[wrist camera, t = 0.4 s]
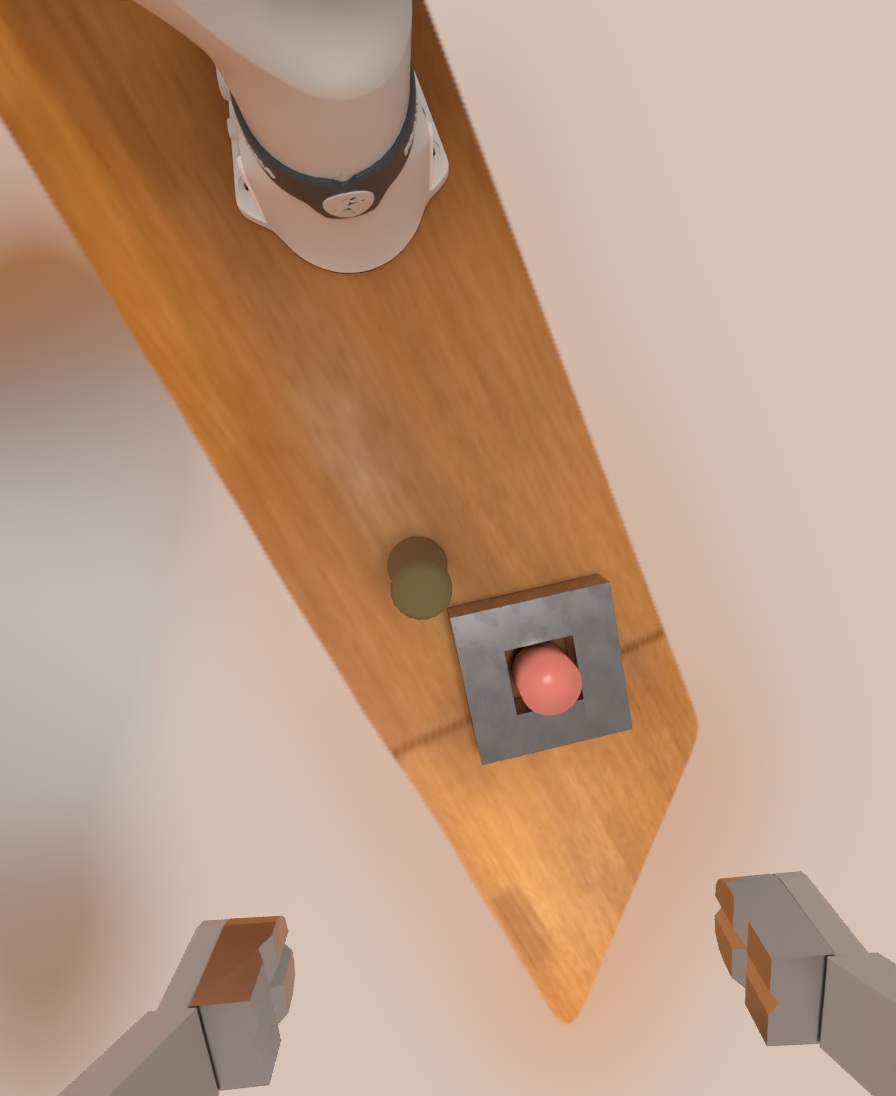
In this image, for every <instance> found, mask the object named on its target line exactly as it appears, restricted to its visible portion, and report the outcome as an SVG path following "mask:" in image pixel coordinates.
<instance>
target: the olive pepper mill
mask: <svg viewBox="0 0 896 1096" xmlns="http://www.w3.org/2000/svg"><path fill="white" fill-rule="evenodd" d="M388 572H389V575H390V578H391V580H392V582H391V596H392V599H393V602H394V604H395V606H396V607H397V608H398V609H399V611H400V612H402V613H403V614H405V615H406V616H408V617H410V618H414V619H417V620H422V619H429V618H432V617H435V616H437V615H438V614H440V613H441V612H442V611H443V610H444V609H445V608H446V606H447V605H448V604H449V602H450V599H451V596H452V582H451V579H450V576H449V574H448V572H447V559H446V556H445V552H444V551H443V550H442V548H441V547H440V546H439V545H438V544H437V543H436V542H434V541H433V540H431V539H428V538H425V537H411V538H408V539H405V540H403V541H402V542H400V543H399V544H397V545H396V546H395V548H394V549H393V551H392V552H391V554H390V557H389V560H388Z"/></svg>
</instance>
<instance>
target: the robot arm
mask: <svg viewBox="0 0 896 1096" xmlns="http://www.w3.org/2000/svg"><path fill="white" fill-rule="evenodd" d="M132 1H134V2H136V3H137V4H139V5H140V6H142V7H144V8H145V9H147V10H148V11H150V12H151V13H153V14H155V15H156V16H158V17H159V18H161V19H162V20H163V21H165V22H166V23H168V24H169V25H171V26H172V27H174V28H175V29H176V30H178V31H179V32H180V33H182V34H183V35H184V36H186V37H187V38H188V39H190V40H191V41H192V42H194V43H195V44H196V45H197V46H199V47H200V48H201V49H202V50H203V51H204V52H205V53H206V54H207V55H208V56H209V57H210V58H211V59H212V61H213V62H214V64H215V66H216V72H217V79H218V84H219V88H220V91H221V95H222V97H223V99H225V100H227V101H229V113H230V118H228V119H227V126H228V132H229V135H230V138H231V141H232V155H233V168H234V182H235V196H236V203H237V205H238V208H239V210H240V212H241V213H242V214H243V216H245V217H246V218H247V219H249V220H251V221H252V222H254V223H256V224H259V225H261V226H263V227H265V228H268V229H270V230H272V231H273V232H274V233H276V234H277V235H278V236H279V237H280V238H281V239H282V240H283V241H284V242H285V243H286V244H287V245H288V246H289V247H290V248H291V249H292V250H293V251H294V252H295V253H296V254H298V255H299V256H300V257H302V258H303V259H305V260H306V261H308V262H310V263H311V264H313V265H316V266H318V267H320V268H323V269H326V270H330V271H334V272H341V273H356V272H363V271H367V270H371V269H374V268H376V267H379V266H381V265H383V264H385V263H387V262H388V261H390V260H391V259H393V258H394V257H395V256H396V255H398V254H399V253H400V252H401V251H402V250H403V249H404V248H405V246H406V245H407V244H408V243H409V241H410V240H411V239H412V237H413V235H414V234H415V232H416V230H417V228H418V226H419V223H420V220H421V218H422V215H423V212H424V209H425V207H426V205H427V203H428V201H429V199H430V198H431V197H432V196H433V195H434V194H435V193H436V192H437V191H438V190H439V189H440V188H441V186H442V185H443V184H444V183H445V181H446V179H447V177H448V174H449V163H448V159H447V156H446V153H445V151H444V148H443V145H442V143H441V140H440V137H439V135H438V132H437V129H436V127H435V124H434V121H433V119H432V116H431V113H430V111H429V108H428V105H427V103H426V100H425V97H424V95H423V92H422V89H421V87H420V84H419V81H418V78H417V76H416V73H415V70H414V68H413V64H412V61H411V30H412V0H132ZM433 153H434V154H435V155H434V157H433ZM246 187H248V189H249V191H247V190H246ZM715 896H716V898H717V900H718V902H719V903H720V905H721V909H720V910H719V911H718V912H717V914H716V915H715V933H716V937H717V942H718V947H719V950H720V953H721V955H722V958H723V961H724V963H725V965H726V967H727V969H728V971H729V973H730V975H731V977H732V978H733V979H735V980H736V981H737V982H738V983H739V984H741V985H742V986H743V987H744V988H745V1005H746V1007H747V1008H748V1011H749V1012H750V1014H751V1016H752V1018H753V1020H754V1022H755V1024H756V1026H757V1028H758V1030H759V1032H760V1034H761V1035H762V1038H763V1039H764V1041H765V1043H766V1045H767V1046H779V1045H802V1044H820V1048H821V1049H823V1050H824V1051H825V1052H826V1053H827V1054H828V1055H829V1056H830V1057H831V1058H832V1059H833V1060H834V1061H836V1062H837V1063H838V1064H839V1065H840V1066H841V1067H842V1068H843V1069H844V1070H845V1071H846V1072H848V1073H849V1074H850V1075H851V1076H852V1077H853V1078H854V1079H855V1080H856V1081H857V1082H858V1083H860V1084H861V1085H862V1086H863V1087H864V1088H865V1089H866V1090H867V1091H868V1092H870V1094H871V1095H873V1096H896V964H895V963H893V962H892V961H890V960H889V959H887V958H885V957H884V956H882V955H881V954H879V953H868V952H867V950H866V949H865V948H864V947H863V945H862V944H861V943H860V942H859V940H858V939H857V938H856V937H855V936H854V934H853V933H852V932H851V930H850V929H849V928H848V927H847V925H846V924H845V923H844V922H843V920H842V919H841V918H840V917H839V915H838V914H837V913H836V912H835V910H834V909H833V908H832V907H831V905H830V904H829V903H828V902H827V900H826V899H825V898H824V896H823V895H822V894H821V893H820V891H819V890H818V889H817V888H816V886H815V885H814V884H813V883H812V882H811V880H810V879H809V878H808V876H806V875H805V874H803V873H802V872H801V871H799V872H788V873H776V874H772V875H771V874H764V875H754V876H744V877H733V878H722V879H718V881H717V883H716V893H715ZM287 934H288V929H287V924H286V920H285V918H284V917H282V916H271V917H253V918H234V919H225V920H208V921H203V922H202V923H201V924H200V925H199V926H198V928H197V929H196V931H195V933H194V935H193V937H192V939H191V941H190V943H189V945H188V947H187V949H186V951H185V953H184V955H183V958H182V959H181V962H180V964H179V966H178V968H177V970H176V972H175V974H174V976H173V978H172V980H171V982H170V984H169V986H168V988H167V990H166V992H165V994H164V996H163V998H162V1001H161V1003H160V1005H159V1007H158V1009H157V1011H148V1012H147V1013H146V1014H145V1015H144V1016H143V1017H142V1018H141V1019H140V1020H139V1021H138V1022H137V1023H135V1024H134V1025H133V1026H132V1027H131V1028H130V1029H129V1030H128V1031H127V1032H126V1033H125V1034H124V1035H122V1036H121V1037H120V1038H119V1039H118V1040H117V1041H116V1042H115V1043H114V1044H113V1045H112V1046H111V1047H110V1048H109V1049H107V1051H105V1052H104V1053H103V1054H102V1055H101V1056H100V1057H99V1058H98V1059H97V1060H96V1061H94V1062H93V1063H92V1064H91V1065H90V1066H89V1067H88V1068H87V1069H86V1070H85V1071H84V1072H83V1073H82V1074H80V1075H79V1076H78V1077H77V1078H76V1079H75V1080H74V1081H73V1082H72V1083H71V1084H70V1085H69V1086H68V1087H66V1088H65V1089H64V1090H63V1091H62V1092H61V1093H60V1094H59V1095H58V1096H218V1095H219V1092H218V1091H220V1090H229V1089H238V1088H247V1087H256V1086H265V1085H269V1084H270V1080H271V1076H272V1073H273V1068H274V1065H275V1061H276V1058H277V1054H278V1050H279V1046H280V1042H281V1038H280V1034H279V1029H278V1024H279V1023H280V1022H281V1021H282V1019H283V1018H284V1017H285V1016H286V1015H287V1014H288V1012H289V1008H290V1003H291V999H292V995H293V987H294V977H295V970H294V958H293V952H292V950H291V949H290V948H289V947H288V946H287V945H285V941H286V937H287Z"/></svg>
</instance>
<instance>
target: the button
mask: <svg viewBox="0 0 896 1096" xmlns="http://www.w3.org/2000/svg"><path fill="white" fill-rule="evenodd" d="M512 676H513V680H514V682H515V684H516V686H517V688H518V690H519V693H520V695H521V697H522V699H523V701H524V702H525V704H526V705H527V706H528V707H529V708H530V709H531V710H533V711H534V712H536V713H539V714H542V715H557V714H560V713H562V712H564V711H566V710H568V709H569V708H570V707H572V706H573V705H574V703H575V702H576V701H577V699H578V698H579V695H580V693H581V689H582V678H581V675H580V672H579V670H578V669H577V667H576V666H575V665H574V664H573V662H572V661H571V660H570V659H569V657H568V656H567V655H566V654H565V653H564V651H563V650H562V649H561V648H560V647H558V646H557V645H555V644H552V643H549V642H541V643H537V644H533V645H528V646H526V647H525V648H524V649H522V650H521V651H520V652H519V653H518V655H517V656H516V658H515V660H514V662H513V666H512Z"/></svg>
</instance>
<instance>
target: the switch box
mask: <svg viewBox="0 0 896 1096" xmlns="http://www.w3.org/2000/svg"><path fill="white" fill-rule="evenodd" d="M447 609H448V614H449V619H450V623H451V628H452V632H453V637H454V642H455V646H456V651H457V656H458V660H459V665H460V669H461V674H462V679H463V683H464V688H465V692H466V697H467V702H468V706H469V711H470V715H471V720H472V725H473V729H474V734H475V739H476V743H477V748H478V751H479V755H480V759H481V763H482V765H485V764H489V763H493V762H497V761H502V760H506V759H510V758H514V757H518V756H522V755H526V754H531V753H535V752H539V751H543V750H547V749H551V748H555V747H559V746H564V745H568V744H572V743H576V742H580V741H584V740H588V739H592V738H597V737H601V736H605V735H609V734H613V733H617V732H621V731H626V730H630V729H632V723H631V716H630V710H629V703H628V697H627V691H626V684H625V678H624V671H623V665H622V658H621V652H620V646H619V639H618V633H617V626H616V620H615V613H614V607H613V600H612V594H611V588H610V582H609V581H607V580H605V579H604V578H602V577H601V576H599V575H597V574H596V575H591V576H587V577H583V578H578V579H574V580H569V581H565V582H561V583H556V584H552V585H547V586H543V587H538V588H534V589H530V590H525V591H521V592H516V593H512V594H508V595H503V596H499V597H494V598H490V599H486V600H481V601H477V602H472V603H468V604H464V605H459V606H455V607H450V608H447ZM563 637H565V642H566V648H567V653H568V657H569V659H570V660H571V661H572V662H573V664H574V665H575V666H576V667H577V669H578V670H579V672H580V675H581V678H582V689H581V693H580V695H579V698H578V699H577V701H576V702H575V703H574V705H573V706H572V707H570V708H569V709H568V710H566V711H564V712H562V713H560V714H557V715H542V714H539V713H536V712H534V711H533V710H531V709H530V708H529V707H528V706H527V705H526V704H525V702H524V701H523V699H522V697H520V698H515V699H514V698H513V693H512V688H511V683H510V678H509V673H508V668H507V663H506V658H505V653H504V651H507V650H511V649H515V648H520V647H524V646H528V645H533V644H537V643H541V642H546V641H550V640H554V639H558V638H563Z"/></svg>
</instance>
